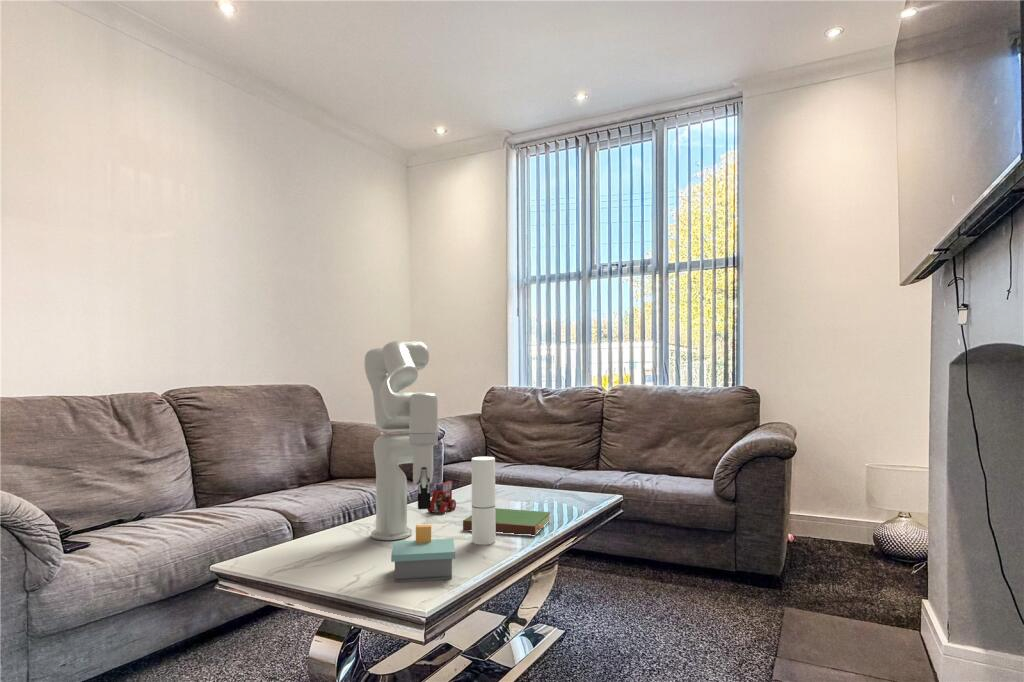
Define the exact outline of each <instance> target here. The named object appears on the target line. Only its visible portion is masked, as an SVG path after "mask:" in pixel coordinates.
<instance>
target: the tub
mask: <svg viewBox="0 0 1024 682" xmlns="http://www.w3.org/2000/svg"><path fill="white" fill-rule="evenodd" d="M452 560H453V559H435V560H417V561H399V562H394V583H404V582H406V583H407V582H417V581H421V582H423V581H434V580H436V579H440V580H451V579H450V578H452V579H453V564H452V563H453V561H452Z"/></svg>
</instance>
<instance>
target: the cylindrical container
mask: <svg viewBox="0 0 1024 682" xmlns="http://www.w3.org/2000/svg"><path fill="white" fill-rule="evenodd" d="M495 508H496V458H495V457H494V456H475V457H472V458H471V515H472V531H471V543H472V542H473V543H476V544H490V543H493V542H495V541H496V538H497V537H496V527H495ZM473 543H472V544H473ZM495 543H496V542H495ZM476 544H475V545H476ZM493 544H494V543H493ZM490 545H491V544H490Z"/></svg>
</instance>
